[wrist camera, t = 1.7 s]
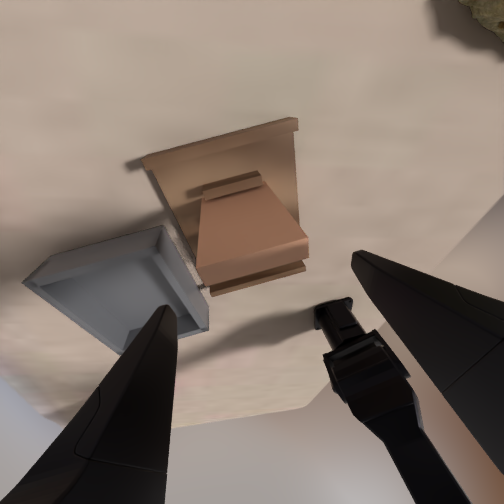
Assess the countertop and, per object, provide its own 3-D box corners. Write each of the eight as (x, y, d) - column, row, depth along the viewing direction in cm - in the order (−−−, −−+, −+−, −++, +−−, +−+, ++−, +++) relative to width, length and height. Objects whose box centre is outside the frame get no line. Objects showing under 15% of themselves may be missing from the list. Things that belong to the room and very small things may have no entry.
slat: (267, 195, 19) (308, 257, 11) (207, 211, 19) (205, 286, 11) (264, 180, 18) (308, 237, 10) (201, 198, 18) (195, 268, 10)
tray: (208, 306, 28) (208, 330, 25) (129, 328, 28) (119, 355, 25) (163, 225, 20) (155, 246, 17) (50, 255, 20) (21, 282, 17)
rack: (299, 261, 26) (307, 273, 24) (211, 285, 26) (211, 300, 24) (289, 116, 16) (300, 118, 14) (147, 154, 16) (138, 161, 14)
